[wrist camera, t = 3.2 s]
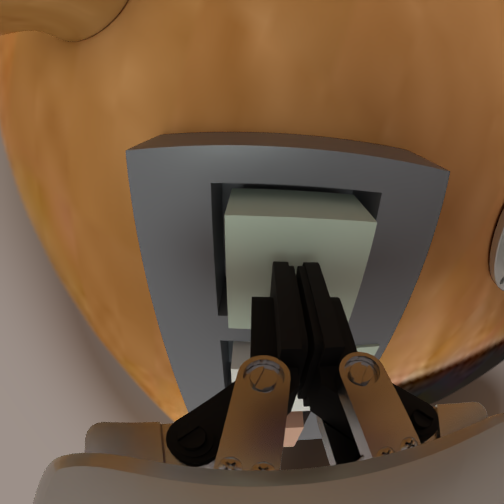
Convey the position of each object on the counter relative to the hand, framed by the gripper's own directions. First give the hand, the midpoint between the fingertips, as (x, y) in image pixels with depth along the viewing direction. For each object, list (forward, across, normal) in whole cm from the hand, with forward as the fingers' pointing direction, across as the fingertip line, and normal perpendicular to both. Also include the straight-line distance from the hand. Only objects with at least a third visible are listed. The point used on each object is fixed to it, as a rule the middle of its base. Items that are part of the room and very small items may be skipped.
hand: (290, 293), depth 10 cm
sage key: (+4, 0, 0) cm, 4 cm away
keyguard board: (+7, 0, +9) cm, 11 cm away
